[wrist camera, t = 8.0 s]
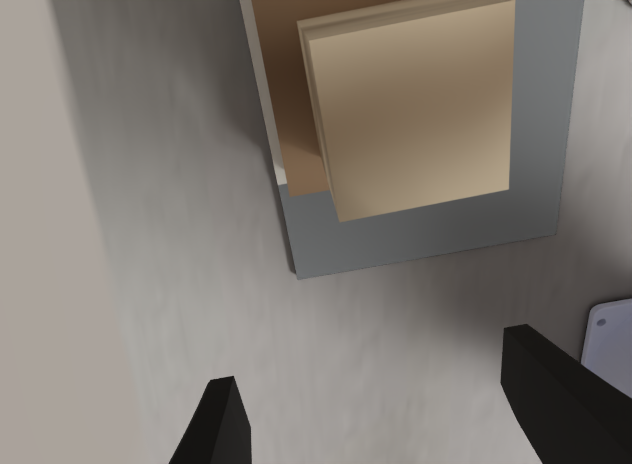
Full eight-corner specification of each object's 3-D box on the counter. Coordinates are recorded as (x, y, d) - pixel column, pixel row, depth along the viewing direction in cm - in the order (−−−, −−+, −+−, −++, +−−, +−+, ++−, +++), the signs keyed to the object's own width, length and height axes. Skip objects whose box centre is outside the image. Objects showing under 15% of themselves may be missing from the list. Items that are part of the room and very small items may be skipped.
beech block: (445, 133, 17) (508, 189, 12) (320, 157, 17) (339, 222, 12) (440, -8, 14) (515, -1, 10) (296, 21, 14) (308, 40, 10)
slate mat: (551, 230, 23) (557, 235, 22) (297, 275, 22) (297, 281, 22) (592, -128, 16) (601, -130, 15) (226, -65, 16) (225, -66, 15)
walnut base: (452, 143, 19) (476, 164, 17) (287, 171, 19) (289, 197, 17) (452, -52, 16) (481, -56, 14) (251, -17, 16) (248, -16, 14)
